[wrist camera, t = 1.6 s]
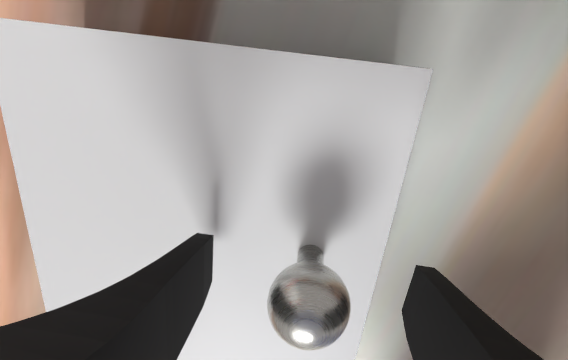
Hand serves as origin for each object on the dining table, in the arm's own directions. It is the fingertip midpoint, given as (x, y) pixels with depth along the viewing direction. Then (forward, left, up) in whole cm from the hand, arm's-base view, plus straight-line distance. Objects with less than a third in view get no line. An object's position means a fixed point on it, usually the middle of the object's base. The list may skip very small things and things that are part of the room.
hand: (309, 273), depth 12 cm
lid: (+4, 0, -2) cm, 5 cm away
